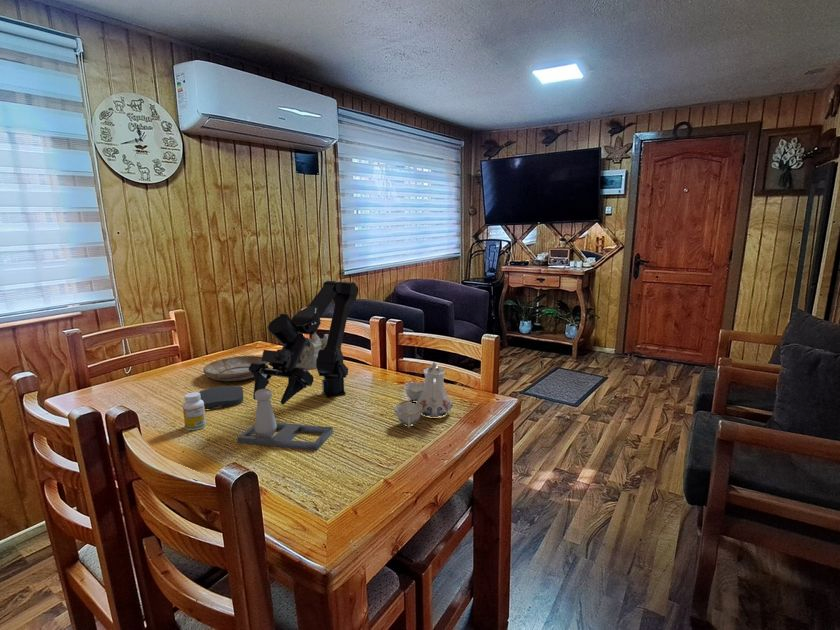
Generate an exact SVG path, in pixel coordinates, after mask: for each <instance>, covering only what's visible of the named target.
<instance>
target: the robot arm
mask: <svg viewBox="0 0 840 630" xmlns="http://www.w3.org/2000/svg"><path fill="white" fill-rule="evenodd" d="M359 291H360V290H359V286H358V285H357V284H356V283H355V282H354V281H352V282H351V281H338V280H326V281H324V282H323V284H322V288H321V289H320V290H319V291H318V293H317V294H316V295H315V296H314V297H313V299H312V300H311V302H310V303H309V304H308V306H306V307H305V308H302V309H301V310H299V311H297V312H296V313H295V314H294V315H293V316H292V318H290V316H289V314H288V313H280V314H279V316H277V317H275V318H274V319H272V320H271V321H270V322H269V323H268V327H267V329H268V332H269V333H271V335H273V337H274V338H275V339H276V340H277V341H278V342H279V343H281V344H282V347H281V348H280V349H276V350H271V349H263V352H262V354H261V357H262V359H261V361H263V362H264V361H266V362H269V365H268V366H266V365H265V364H264V363H259V362H253V363H251V365H250V367H249V369H248V370H249V371H250V372H251V374H252V375H254V377H253V379H254V387H253V388H254V389H253V397H252V399H253V400H254V401H257V400H256V399H255V392H256V391H257V390H260V389H266V387H267V386H268V384H269V383H270V379H272V377H280V378H286V379H288V380H287V381H288V382H287V385H286V388H285V390H284V393H283V395H282V397H281V400H280V404H281V405H285V404H286V403H287V402H288V401H290V399H292V398H293V397H294V396H295V395H296V394H298V393H299V392H301V391H302V390H303V389H306V388H308V387H312V385H313V383H314V376H313V374H311V372H310V371H309V370H308V369H305V368H298V367H296V365H297V364H300V363H301V360H300V356H301V354H302V352H303V350H304V348H305V347H310V342H309V339H310V338H309V337H306V336H305V335H311V336H312V335H313V334H315V332H316V333H317V331H318V330H319V328H320V325H321V317H322V315H324V312H325V311H326V310H327V308H328V307H329V305H330V304H331V303H332V301H333V303H334V308H333V312H332V315H331V316H332V317H331V321H330V326H329V331H328V339H327V344H326V347H325V348H324V349H323V350H319V352H318V357H317V360H316V367H317V369H316V370H317V373H318V376H319V377H323V379H322V380H321V386H322V389H321V390H322V393H323V394H324V395H325V397H328V398H330V397H331V398H332V397H337V396H342V395H343V396H344V395H346V393H347V392H346V391H345V378H347V376H348V374H349V367H348V366H346V364H345V363H344V355H343V352H342V344H343V339H344V336H345V335H344V334H345V329H346V324H347V320H348V316H349V310H350V308H351V307H352V306H353V305H354V304H355V302H356V300H357V297H358V295H359ZM269 366H270V367H271V368H270V367H269Z"/></svg>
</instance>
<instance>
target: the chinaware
mask: <svg viewBox="0 0 840 630" xmlns="http://www.w3.org/2000/svg"><path fill="white" fill-rule="evenodd" d="M423 373H424V381H420V382H413V381H409V382H408V383H407V384H406V385H403V386H402V389H404V390H405V393H406V396H407V398H409V400H411V401H405V402H402V403H401V404H400V403H397V404H395V405H394V406H393V412H394V413H395V415H396V418H397V419H398V421H399V422H400V423H402V424H406V425H407V427H406V428H408V429H410V428H411V427H410V425H411V424H415V423H417V422H418V421H419V419H420V418H421V413H422V414H423V415H425V416H430V417H438V416H443V415H445V414H446V413H447V412H448V413H449V411H450V410H451V409H452V408H453V402H452V400H451V399H450V397H449V395H448V394H447V391H446V387H445V384H444V383H445V382H444V376H445V373H446V370H445V369H443V368H440V366H438V364H437V363H436V362H435V361H434V362H432V364H431V365H430V366H429V367H428V368H424V369H423ZM412 400H413V401H417V403H412Z"/></svg>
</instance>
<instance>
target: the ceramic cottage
mask: <svg viewBox="0 0 840 630" xmlns="http://www.w3.org/2000/svg"><path fill="white" fill-rule="evenodd" d="M328 335H329V333H325V334H324V335H323V338H320V336H319V335H318V334H317V331H316V332H315V334H313V335H311V337H310V338H309V342H310V347H305V348H304V350H303V352H302V354H301V356H300V360H301V363H300V364H297V365H296V367H297V368H305V369H307V370H317V367H316V360H317V357H318V352H319V350H323V349H324V348H325V347H326V344H327V339H328Z"/></svg>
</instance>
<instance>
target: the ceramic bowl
mask: <svg viewBox="0 0 840 630" xmlns="http://www.w3.org/2000/svg"><path fill="white" fill-rule="evenodd" d="M261 359H262V356H260V355H239V356H233V357H227V358H221V359H218V360H214V361H212V362H210V363H207V364H206V365H205V366H203V373H204V375H205V376H206V377H208V378H209V379H212V380H215V381H219V382H238V381H239V382H240V381H245V380H249V379H252V378H253V379H254V375H252V374H251V372H250V371H249V370H248V369H249V367H250V365H251V363H253V362H259V363H264V364H265V365H266V366H268V367H269V366H270V365H269V362H266V361H264V362H263V361H261Z"/></svg>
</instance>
